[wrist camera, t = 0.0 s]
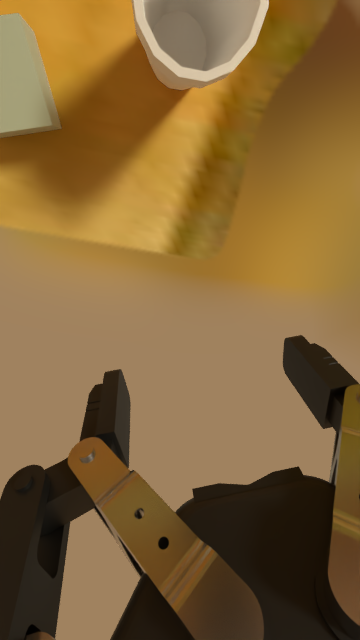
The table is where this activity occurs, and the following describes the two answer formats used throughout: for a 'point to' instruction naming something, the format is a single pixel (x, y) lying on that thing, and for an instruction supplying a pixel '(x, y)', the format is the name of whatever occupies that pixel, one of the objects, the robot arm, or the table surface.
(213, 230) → the table surface
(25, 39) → the green block
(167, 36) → the foam cup
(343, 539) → the robot arm
